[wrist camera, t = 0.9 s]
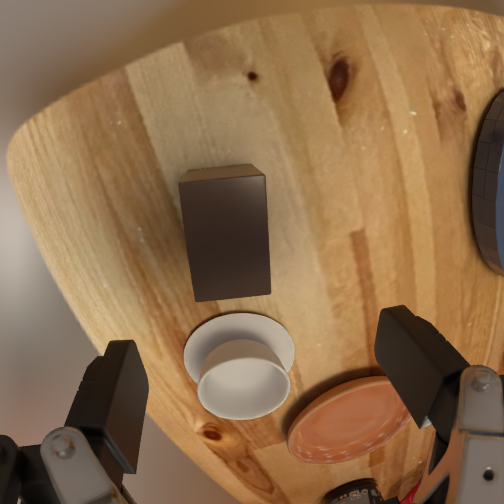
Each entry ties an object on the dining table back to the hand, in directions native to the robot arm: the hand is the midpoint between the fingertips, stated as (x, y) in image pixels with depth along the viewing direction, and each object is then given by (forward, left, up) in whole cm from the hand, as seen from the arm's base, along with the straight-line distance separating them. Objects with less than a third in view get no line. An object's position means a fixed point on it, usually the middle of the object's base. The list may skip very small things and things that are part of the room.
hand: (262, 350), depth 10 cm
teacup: (+12, -1, -14) cm, 19 cm away
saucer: (+24, +11, -15) cm, 31 cm away
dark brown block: (-1, -1, -14) cm, 14 cm away
